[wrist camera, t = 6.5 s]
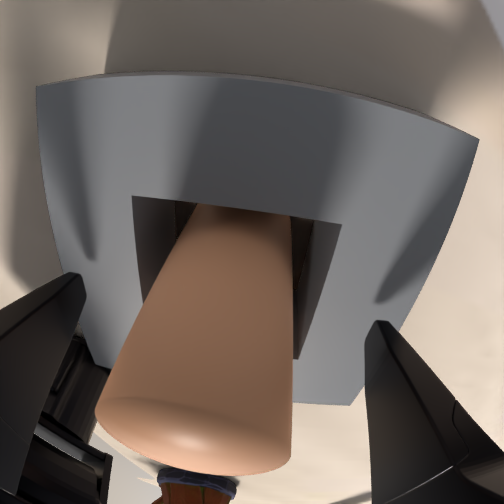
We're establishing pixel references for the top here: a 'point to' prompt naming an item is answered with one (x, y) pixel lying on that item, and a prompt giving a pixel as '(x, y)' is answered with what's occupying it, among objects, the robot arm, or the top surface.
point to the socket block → (250, 198)
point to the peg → (211, 350)
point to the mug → (193, 488)
